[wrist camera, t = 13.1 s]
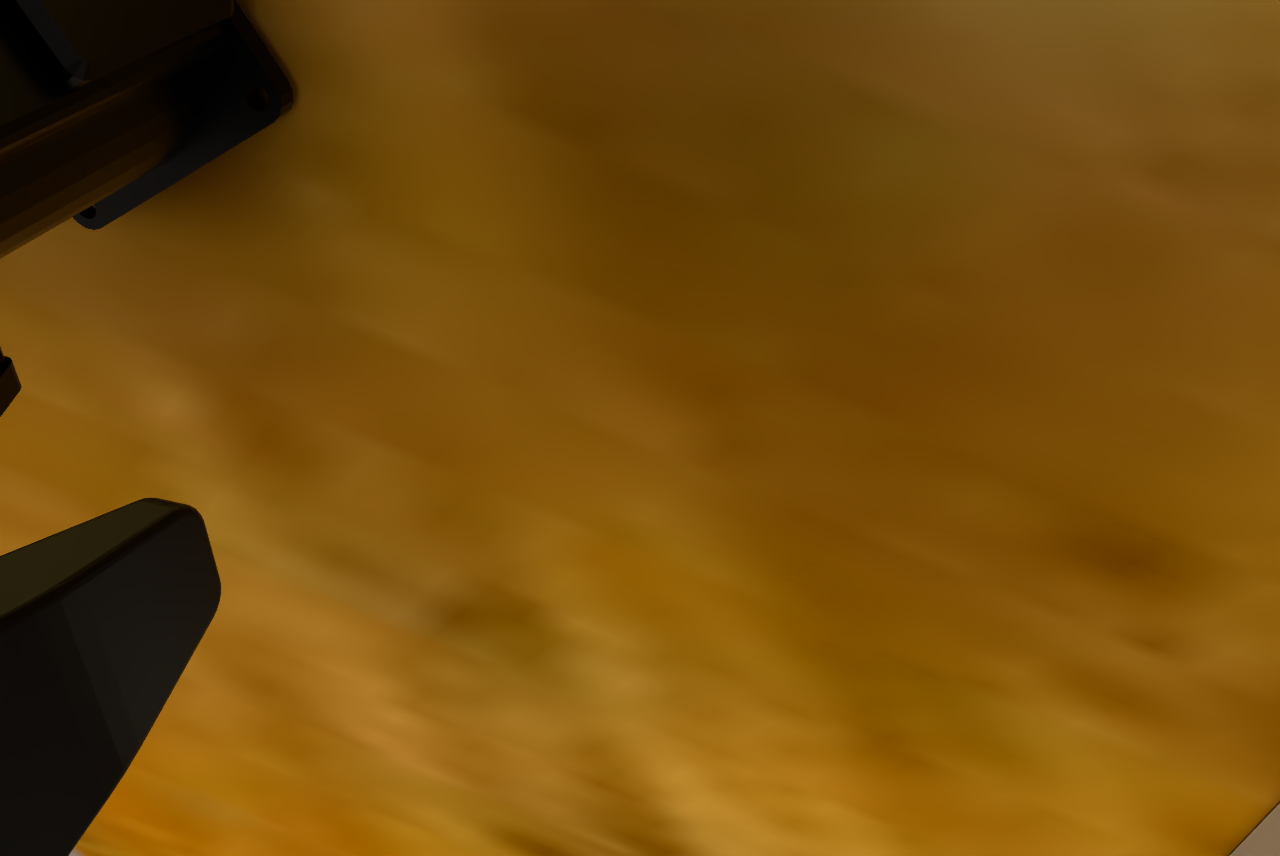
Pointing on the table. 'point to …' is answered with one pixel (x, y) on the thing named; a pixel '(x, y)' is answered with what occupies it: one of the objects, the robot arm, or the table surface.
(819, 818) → the table surface
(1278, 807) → the trap box
